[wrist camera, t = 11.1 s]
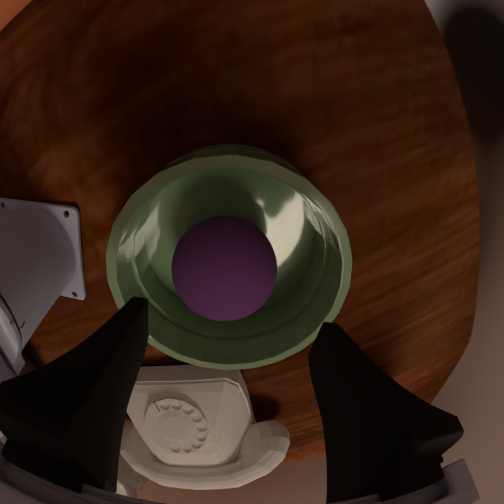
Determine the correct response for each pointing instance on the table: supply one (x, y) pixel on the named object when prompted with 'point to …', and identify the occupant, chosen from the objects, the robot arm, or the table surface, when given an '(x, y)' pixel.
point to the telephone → (198, 429)
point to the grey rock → (130, 475)
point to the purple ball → (224, 268)
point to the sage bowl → (259, 214)
